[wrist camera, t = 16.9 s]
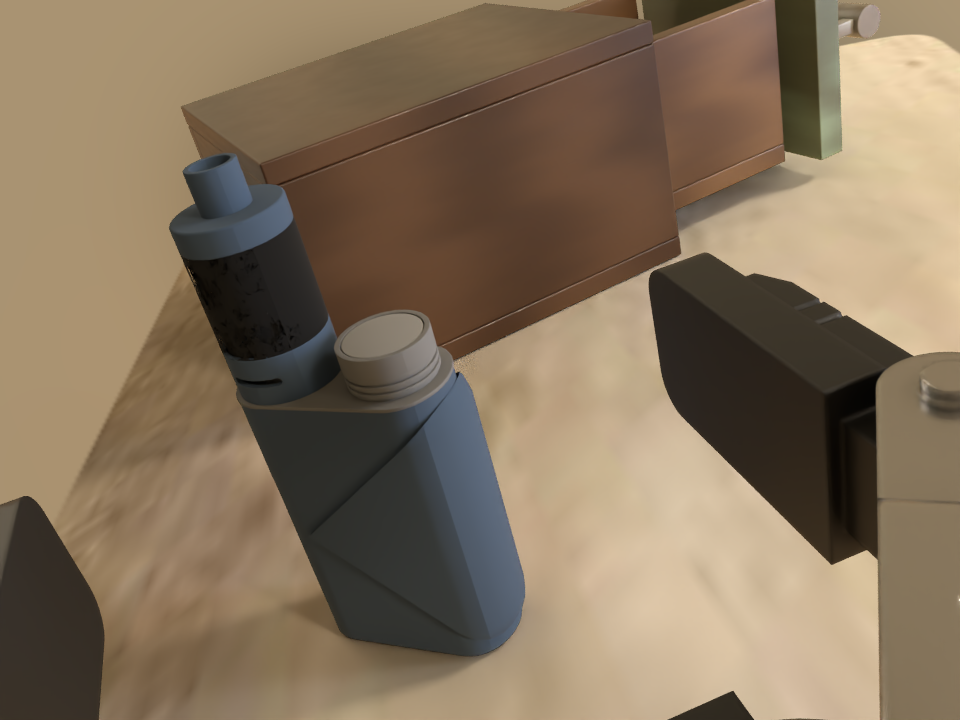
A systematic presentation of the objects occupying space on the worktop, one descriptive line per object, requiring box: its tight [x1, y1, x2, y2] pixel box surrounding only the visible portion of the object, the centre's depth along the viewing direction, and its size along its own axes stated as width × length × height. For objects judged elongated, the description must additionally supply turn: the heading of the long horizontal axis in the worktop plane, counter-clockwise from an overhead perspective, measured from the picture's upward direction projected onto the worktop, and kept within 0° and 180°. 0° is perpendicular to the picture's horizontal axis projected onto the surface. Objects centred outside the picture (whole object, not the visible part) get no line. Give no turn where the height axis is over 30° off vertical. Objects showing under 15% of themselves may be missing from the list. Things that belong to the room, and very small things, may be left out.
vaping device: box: [169, 153, 525, 656], centre depth 20 cm, size 3×5×12 cm, turn 68°
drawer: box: [558, 0, 880, 210], centre depth 41 cm, size 18×11×7 cm, turn 118°
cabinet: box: [181, 3, 681, 360], centre depth 37 cm, size 15×13×9 cm
